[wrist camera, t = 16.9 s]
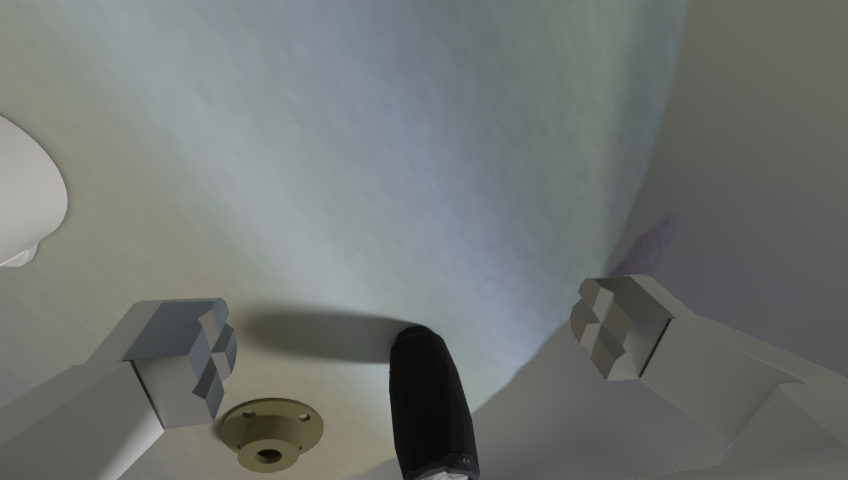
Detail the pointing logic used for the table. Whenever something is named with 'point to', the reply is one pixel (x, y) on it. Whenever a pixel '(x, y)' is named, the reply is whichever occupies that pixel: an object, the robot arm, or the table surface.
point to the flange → (271, 433)
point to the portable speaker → (429, 410)
